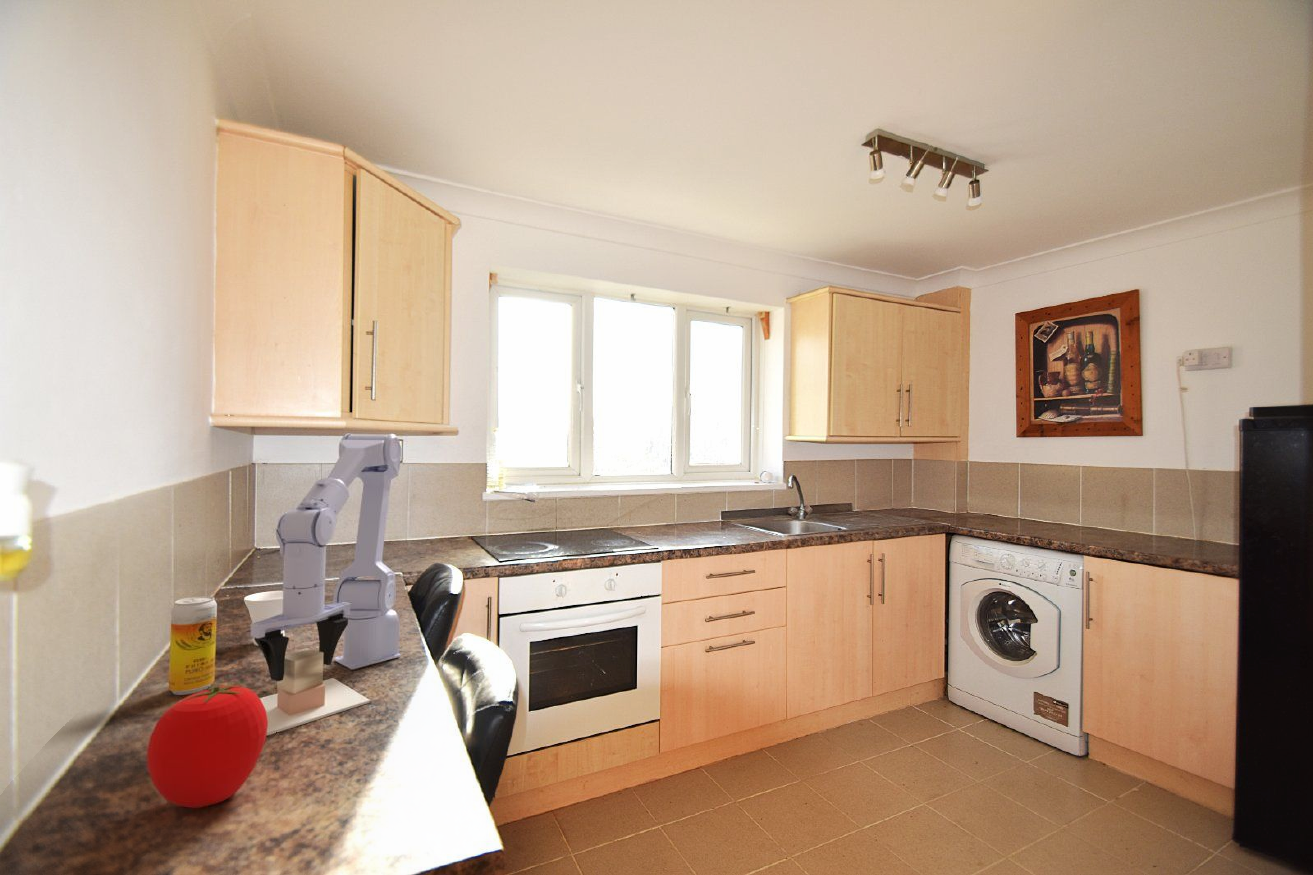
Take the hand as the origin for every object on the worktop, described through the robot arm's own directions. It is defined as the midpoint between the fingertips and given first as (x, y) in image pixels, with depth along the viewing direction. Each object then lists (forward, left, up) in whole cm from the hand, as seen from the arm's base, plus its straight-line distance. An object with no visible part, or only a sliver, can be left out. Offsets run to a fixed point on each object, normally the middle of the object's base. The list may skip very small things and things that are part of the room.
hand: (302, 671), depth 92 cm
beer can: (+9, -22, -6) cm, 24 cm away
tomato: (+16, +18, -6) cm, 25 cm away
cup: (-8, -40, -6) cm, 41 cm away
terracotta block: (0, 0, -5) cm, 5 cm away
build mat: (0, -1, -6) cm, 6 cm away
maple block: (0, 0, -2) cm, 2 cm away
